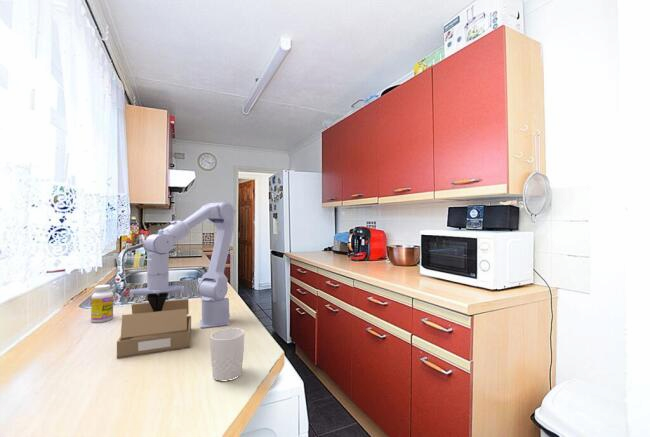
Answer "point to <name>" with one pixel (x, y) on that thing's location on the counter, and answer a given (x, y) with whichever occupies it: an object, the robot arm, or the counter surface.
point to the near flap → (153, 322)
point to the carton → (154, 342)
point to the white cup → (227, 353)
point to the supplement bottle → (102, 304)
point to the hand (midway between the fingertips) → (157, 318)
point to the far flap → (167, 306)
